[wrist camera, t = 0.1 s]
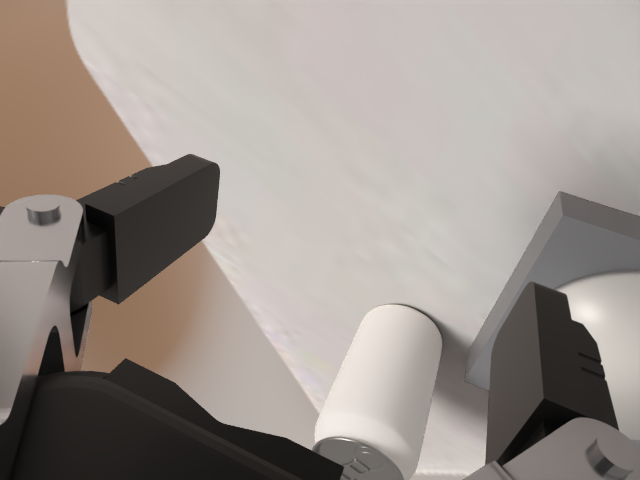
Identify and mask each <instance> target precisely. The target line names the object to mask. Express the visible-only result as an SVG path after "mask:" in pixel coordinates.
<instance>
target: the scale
mask: <svg viewBox="0 0 640 480" xmlns="http://www.w3.org/2000/svg"><path fill="white" fill-rule="evenodd" d="M531 281H533V282H535V283H538V284H541V285H543V286H546V287H549V288H552V289H554V290H557V291H560V292H562V293H565V294H566V295H567V298H568V303H569V308H570V313H571V318H572V320H574V321H577V322H579V323H582V324H583V325H584V326H585V327H586V329H587V330H588V331H589V333H590V334H591V336H592V337H593V338H594V340H595V341H596V342H597V345H598V349H599V353H600V357H601V361H602V362H601V365H603V368H604V372H605V376H606V377H605V380H606V381H607V384H608V388H609V392H610V396H611V400H612V404H613V408H614V412H615V415H616V419H617V423H618V427H619V431H620V432H621V433H623V434H624V435H625V436H627V437H628V438H629V439H630V440H632V441H633V442H634V443H635V444H636V445H637V446H638V447H639V448H640V217H638V216H635V215H632V214H629V213H626V212H623V211H620V210H616V209H613V208H610V207H607V206H604V205H601V204H598V203H595V202H591V201H588V200H585V199H582V198H579V197H576V196H573V195H569V194H566V193H563V192H560V191H559V193H558V195H557V196H556V198H555V200H554V202H553V203H552V205H551V207H550V209H549V210H548V212H547V214H546V216H545V217H544V219H543V221H542V223H541V224H540V226H539V228H538V230H537V231H536V233H535V235H534V237H533V238H532V240H531V242H530V244H529V246H528V247H527V249H526V251H525V253H524V254H523V256H522V258H521V260H520V261H519V263H518V265H517V267H516V268H515V270H514V272H513V274H512V275H511V277H510V279H509V281H508V282H507V284H506V286H505V288H504V290H503V291H502V293H501V295H500V297H499V298H498V300H497V302H496V304H495V305H494V307H493V309H492V311H491V312H490V314H489V316H488V318H487V319H486V321H485V323H484V325H483V326H482V328H481V330H480V332H479V333H478V335H477V337H476V339H475V341H474V342H473V344H472V346H471V348H470V349H469V351H468V358H467V365H466V372H465V379H464V381H466V382H468V383H470V384H473V385H475V386H478V387H480V388H482V389H485V390H487V391H489V385H490V367H491V353H492V348H493V345H494V342H495V339H496V337H497V334H498V332H499V330H500V329H501V327H502V325H503V323H504V322H505V320H506V318H507V317H508V315H509V313H510V311H511V310H512V308H513V306H514V305H515V303H516V301H517V300H518V298H519V296H520V294H521V293H522V291H523V289H524V288H525V286H526V285H527V284H528V283H529V282H531Z"/></svg>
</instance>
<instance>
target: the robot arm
mask: <svg viewBox="0 0 640 480" xmlns="http://www.w3.org/2000/svg"><path fill="white" fill-rule="evenodd" d="M219 178H220V169H219V166H218V165H217V164H216V163H214V162H211V161H209V160H206V159H203V158H200V157H198V156H195V155H192V154H188V155H186V156H184V157H181V158H179V159H177V160H175V161H173V162H171V163H169V164H166V165H161V166H155V167H150V168H146V169H144V170H141V171H139V172H137V173H135V174H133V175H132V176H131V177H129V176H128V177H126V178H124V179H122V180H120V181H119V183H113V184H111V185H109V186H107V187H104V188H102V189H100V190H98V191H96V192H94V193H91V194H89V195H87V196H85V197H83V198H81V199H78V200H76V201H75V200H73V199H71V198H68V197H65V196H59V195H35V196H29V197H24V198H21V199H19V200H16V201H14V202H12V203H10V204H9V205H8V206H6V207H0V480H340V478H341V475H342V473H343V470H344V466H342V465H340V464H338V463H336V462H334V461H332V460H330V459H328V458H326V457H324V456H321V455H319V454H317V453H315V452H313V451H311V450H309V449H307V448H305V447H303V446H301V445H299V444H297V443H295V442H293V441H291V440H289V439H287V438H284V437H280V436H275V435H271V434H266V433H262V432H257V431H253V430H249V429H244V428H240V427H235V426H231V425H227V424H223V423H221V422H219V421H217V420H216V419H215V418H213V417H212V416H211V415H210V414H209V413H208V412H207V411H206V410H205V409H204V408H202V407H201V406H200V405H199V404H198V403H197V402H196V401H195V400H193V399H192V398H191V397H190V396H189V395H188V394H187V393H186V392H184V391H183V390H182V389H181V388H180V387H179V386H178V385H177V384H176V383H174V382H172V381H170V380H168V379H166V378H164V377H162V376H160V375H158V374H156V373H154V372H152V371H150V370H148V369H146V368H144V367H142V366H140V365H138V364H136V363H134V362H132V361H130V360H128V359H126V358H125V359H124V360H123V361H122V362H121V363H120V364H119V365H118V366H117V367H116V368H115V369H114V370H112V371H111V372H110V373H105V372H95V371H81V368H82V362H83V357H84V352H85V346H86V341H87V336H88V330H89V324H90V319H91V313H92V302H91V301H92V300H93V299H94V298H96V297H97V296H98V295H100V296H102V297H104V298H106V299H108V300H111V301H113V302H115V303H117V304H120V303H121V302H122V301H124V300H125V299H126V298H128V297H129V296H130V295H131V294H132V293H134V292H135V291H137V290H138V289H139V288H140V287H142V286H143V285H144V284H146V283H147V282H148V281H150V280H151V279H152V278H153V277H155V276H156V275H157V274H159V273H160V272H161V271H162V270H164V269H165V268H166V267H168V266H169V265H170V264H171V263H173V262H174V261H175V260H177V259H178V258H179V257H180V256H182V255H183V254H184V253H186V252H187V251H188V250H190V249H191V248H192V247H193V246H195V245H196V244H197V243H198V242H200V241H201V240H202V239H204V238H205V237H206V236H207V235H208V234H209V232H210V231H211V229H212V227H213V225H214V222H215V218H216V210H217V200H218V189H219ZM601 362H602V361H601V357H600V353H599V349H598V345H597V342H596V341H595V340H594V338H593V337H592V336H591V334H590V333H589V331H588V330H587V329H586V327H585V326H584V325H583V324H582V323H579V322H577V321H574V320H572V318H571V313H570V308H569V303H568V298H567V295H566V294H565V293H562V292H560V291H557V290H554V289H552V288H549V287H546V286H543V285H541V284H538V283H535V282H533V281H531V282H529V283H528V284H527V285H526V286H525V288H524V289H523V291H522V293H521V294H520V296H519V298H518V300H517V301H516V303H515V305H514V306H513V308H512V310H511V311H510V313H509V315H508V317H507V318H506V320H505V322H504V323H503V325H502V327H501V329H500V330H499V332H498V334H497V337H496V339H495V342H494V345H493V348H492V353H491V367H490V385H489V404H488V423H487V442H486V461H485V466H483V467H482V468H480V469H479V470H477V471H475V472H474V473H472V474H471V475H469V476H468V477H466V478H465V479H463V480H640V448H639V447H638V446H637V445H636V444H635V443H634V442H633V441H632V440H630V439H629V438H628V437H627V436H625V435H624V434H623V433H621V432H620V431H619V427H618V423H617V419H616V415H615V412H614V408H613V404H612V400H611V396H610V392H609V388H608V384H607V381H606V380H605V377H606V376H605V372H604V368H603V365H601Z"/></svg>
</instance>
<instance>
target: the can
mask: <svg viewBox="0 0 640 480" xmlns="http://www.w3.org/2000/svg"><path fill="white" fill-rule="evenodd" d="M441 352H442V338H441V334H440V332H439V330H438V328H437V327H436V325H435V324H434V323H433V322H432V321H431V320H430V319H429V318H428V317H427V316H425V315H424V314H423V313H421V312H419V311H417V310H415V309H413V308H410V307H408V306H404V305H397V304H391V305H382V306H379V307H376V308H374V309H372V310H371V311H369V312H368V313H367V314H366V315H365V317H364V318H363V320H362V322H361V324H360V326H359V329H358V331H357V333H356V335H355V337H354V339H353V342H352V344H351V346H350V348H349V350H348V353H347V355H346V357H345V359H344V362H343V364H342V366H341V368H340V370H339V373H338V375H337V377H336V379H335V382H334V384H333V386H332V388H331V391H330V393H329V395H328V397H327V400H326V402H325V404H324V406H323V409H322V411H321V413H320V416H319V418H318V421H317V423H316V427H315V445H314V447H313V449H312V451H313V452H315V453H317V454H319V455H321V456H324V457H326V458H328V459H330V460H332V461H334V462H336V463H338V464H340V465H342V466H344V470H343V473H342V475H341V478H340V480H409V479H410V478H411V477H412V476H413V474H414V473H415V471H416V468H417V465H418V461H419V457H420V452H421V448H422V443H423V439H424V434H425V429H426V425H427V420H428V415H429V410H430V406H431V401H432V396H433V391H434V386H435V382H436V377H437V372H438V367H439V362H440V357H441Z"/></svg>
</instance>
